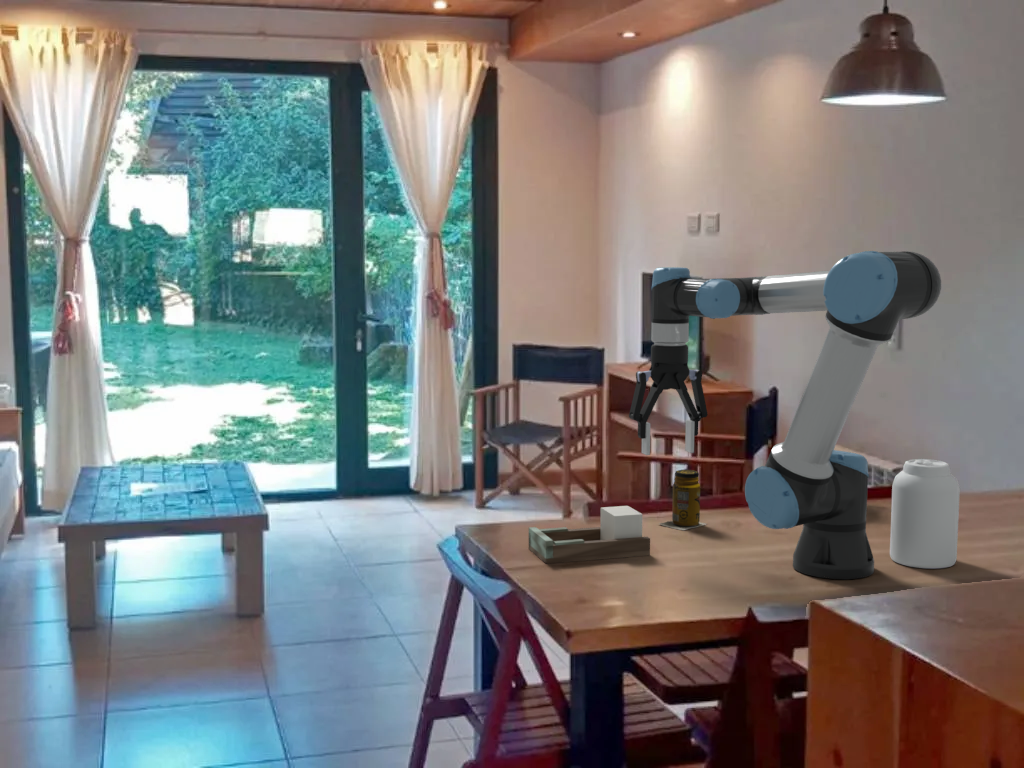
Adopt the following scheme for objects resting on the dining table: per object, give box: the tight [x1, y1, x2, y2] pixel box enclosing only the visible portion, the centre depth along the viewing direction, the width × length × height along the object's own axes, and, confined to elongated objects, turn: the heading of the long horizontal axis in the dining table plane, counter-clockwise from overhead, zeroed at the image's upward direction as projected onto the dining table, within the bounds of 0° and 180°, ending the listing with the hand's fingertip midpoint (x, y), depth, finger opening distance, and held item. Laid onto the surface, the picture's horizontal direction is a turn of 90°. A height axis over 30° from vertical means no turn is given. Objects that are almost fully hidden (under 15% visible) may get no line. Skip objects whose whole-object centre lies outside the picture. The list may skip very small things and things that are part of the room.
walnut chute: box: [528, 526, 651, 565], centre depth 243 cm, size 12×22×4 cm, turn 106°
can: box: [889, 458, 961, 570], centre depth 235 cm, size 12×12×20 cm
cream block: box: [599, 505, 643, 540], centre depth 244 cm, size 8×6×7 cm
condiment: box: [658, 469, 707, 531], centre depth 265 cm, size 7×8×12 cm
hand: (667, 452), depth 245 cm, fingers open, 9 cm apart
